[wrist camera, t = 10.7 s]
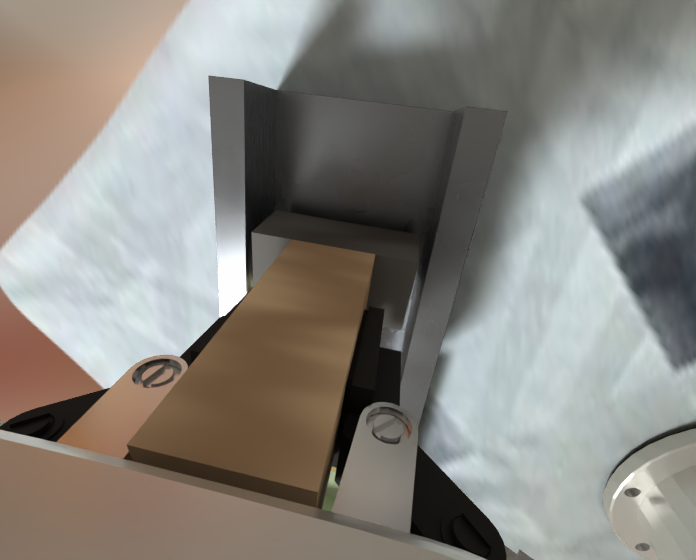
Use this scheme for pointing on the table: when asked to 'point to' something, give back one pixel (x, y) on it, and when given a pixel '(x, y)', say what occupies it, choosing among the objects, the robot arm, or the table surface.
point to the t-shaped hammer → (282, 360)
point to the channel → (354, 192)
